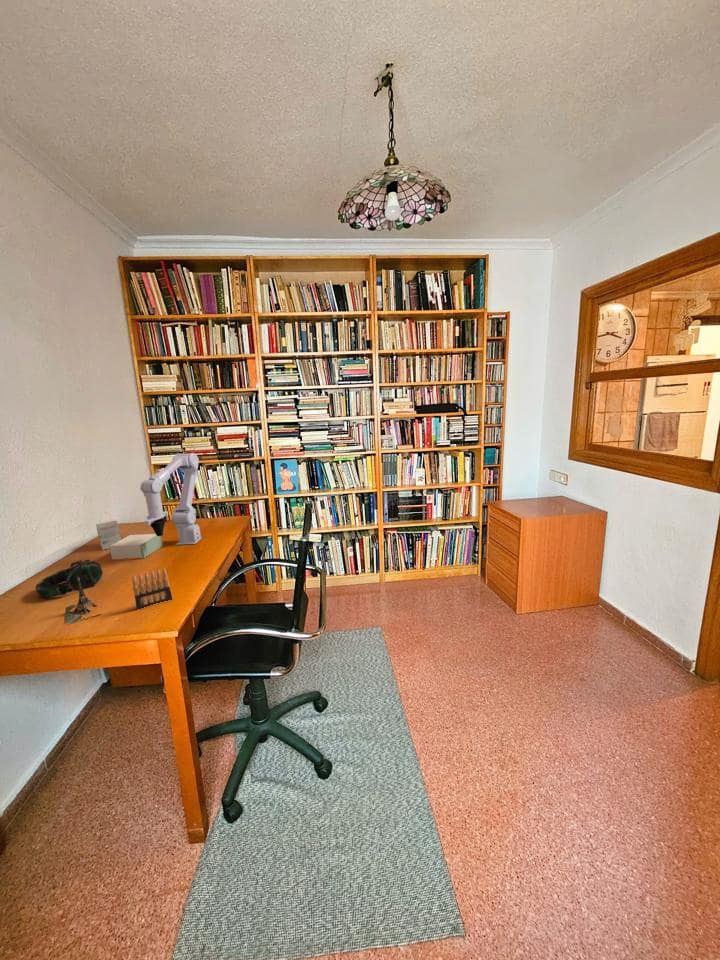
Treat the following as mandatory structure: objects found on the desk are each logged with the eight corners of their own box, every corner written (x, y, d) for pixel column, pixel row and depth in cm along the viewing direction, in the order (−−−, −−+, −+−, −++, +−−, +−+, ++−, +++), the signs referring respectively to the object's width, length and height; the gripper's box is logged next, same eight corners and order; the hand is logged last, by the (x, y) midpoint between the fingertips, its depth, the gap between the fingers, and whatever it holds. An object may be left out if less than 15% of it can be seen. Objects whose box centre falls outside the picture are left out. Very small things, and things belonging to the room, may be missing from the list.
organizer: (160, 546, 178) (158, 533, 177) (142, 558, 164) (139, 545, 163) (132, 547, 179) (130, 534, 178) (112, 559, 165) (109, 546, 164)
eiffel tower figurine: (65, 608, 126) (57, 572, 123) (101, 598, 132) (94, 563, 129) (63, 628, 114) (54, 588, 111) (103, 615, 120) (95, 577, 117)
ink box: (120, 541, 189) (116, 519, 186) (122, 545, 182) (118, 523, 180) (100, 546, 183) (95, 523, 181) (102, 550, 177) (97, 527, 174)
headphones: (98, 559, 152) (37, 582, 140) (91, 545, 142) (25, 569, 130) (109, 586, 147) (47, 613, 136) (103, 574, 137) (36, 601, 126)
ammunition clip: (172, 597, 128) (166, 565, 126) (172, 600, 126) (167, 567, 124) (136, 607, 123) (130, 574, 120) (136, 610, 121) (130, 576, 119)
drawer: (162, 546, 178) (160, 533, 177) (144, 558, 164) (142, 544, 163) (134, 546, 179) (132, 534, 178) (114, 558, 165) (112, 546, 164)
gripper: (155, 502, 170) (160, 530, 172) (135, 511, 155) (141, 541, 158) (170, 501, 169) (175, 529, 172) (151, 510, 155) (156, 541, 158)
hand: (159, 535), depth 165 cm, fingers closed
